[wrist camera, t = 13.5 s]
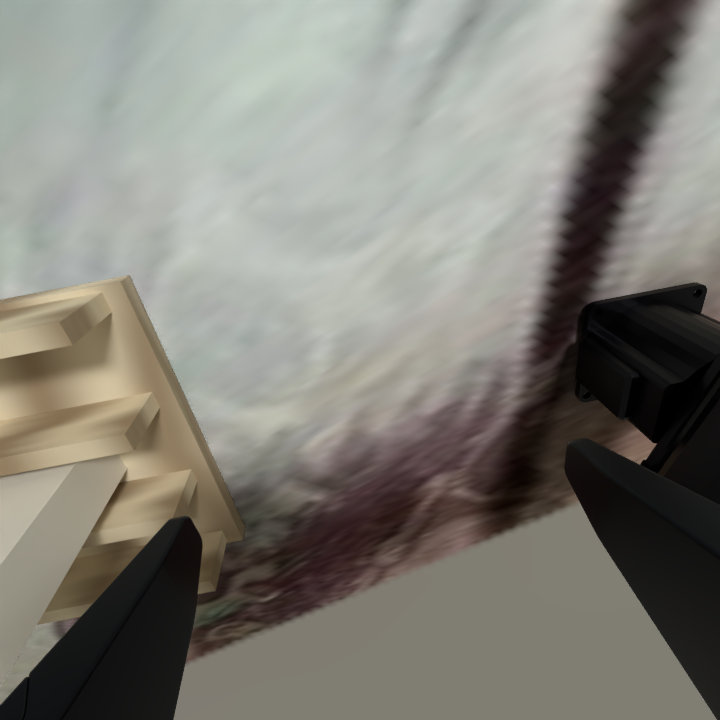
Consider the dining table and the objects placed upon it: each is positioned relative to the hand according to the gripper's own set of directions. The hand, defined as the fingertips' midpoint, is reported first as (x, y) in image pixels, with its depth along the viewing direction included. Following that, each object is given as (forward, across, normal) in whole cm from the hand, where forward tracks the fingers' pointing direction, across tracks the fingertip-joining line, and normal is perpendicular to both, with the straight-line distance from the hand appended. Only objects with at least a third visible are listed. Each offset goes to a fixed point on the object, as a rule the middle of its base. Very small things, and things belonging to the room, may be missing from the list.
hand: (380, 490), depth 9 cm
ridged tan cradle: (+13, +17, +6) cm, 22 cm away
